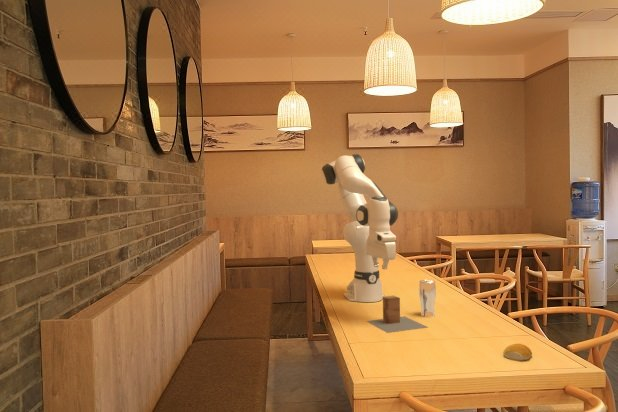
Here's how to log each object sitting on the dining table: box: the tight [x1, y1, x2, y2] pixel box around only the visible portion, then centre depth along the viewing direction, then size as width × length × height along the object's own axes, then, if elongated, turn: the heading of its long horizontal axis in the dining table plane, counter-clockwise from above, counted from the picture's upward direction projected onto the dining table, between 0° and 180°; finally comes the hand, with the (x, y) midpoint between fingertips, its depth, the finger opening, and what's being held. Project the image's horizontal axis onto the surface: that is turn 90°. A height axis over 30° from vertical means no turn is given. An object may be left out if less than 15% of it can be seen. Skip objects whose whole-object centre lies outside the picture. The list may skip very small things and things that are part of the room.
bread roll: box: [502, 343, 533, 362], centre depth 166 cm, size 8×9×4 cm
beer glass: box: [418, 279, 437, 318], centre depth 217 cm, size 7×7×15 cm
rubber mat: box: [366, 316, 429, 334], centre depth 204 cm, size 18×18×1 cm
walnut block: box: [382, 295, 401, 324], centre depth 208 cm, size 5×5×10 cm
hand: (380, 267), depth 216 cm, fingers open, 6 cm apart
